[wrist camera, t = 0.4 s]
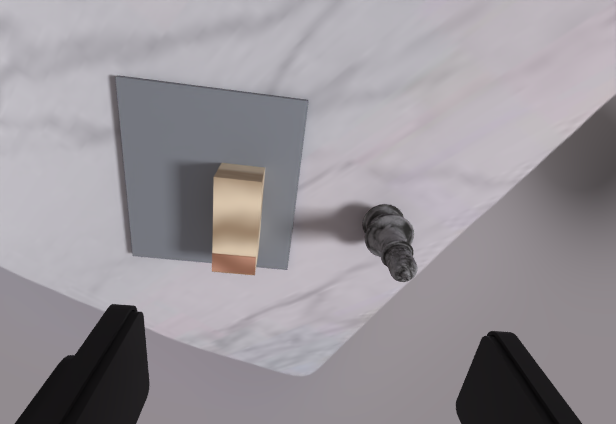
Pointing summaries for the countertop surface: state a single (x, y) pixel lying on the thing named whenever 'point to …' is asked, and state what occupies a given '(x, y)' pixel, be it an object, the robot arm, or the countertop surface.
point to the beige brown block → (237, 218)
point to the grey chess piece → (391, 240)
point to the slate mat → (205, 164)
